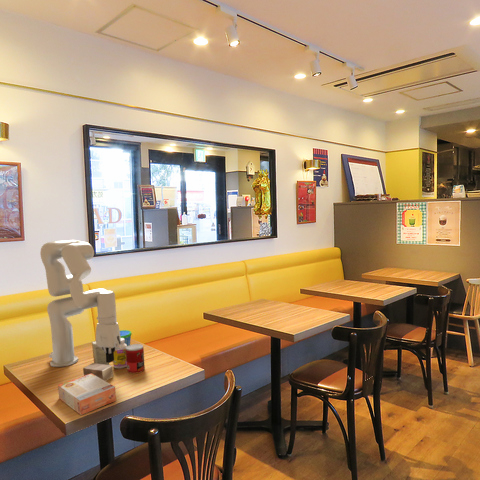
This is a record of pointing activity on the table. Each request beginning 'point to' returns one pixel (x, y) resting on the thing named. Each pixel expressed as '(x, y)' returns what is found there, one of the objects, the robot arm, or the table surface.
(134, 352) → the canned food
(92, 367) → the walnut block
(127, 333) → the snack cup
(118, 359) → the supplement bottle
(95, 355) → the skincare box
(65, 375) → the table surface
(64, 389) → the cracker box
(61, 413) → the table surface
